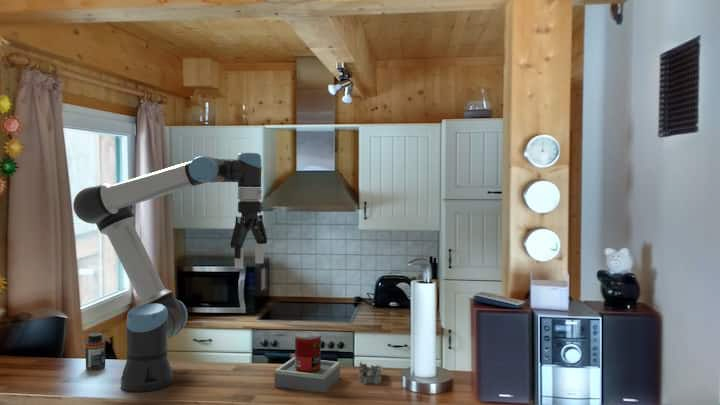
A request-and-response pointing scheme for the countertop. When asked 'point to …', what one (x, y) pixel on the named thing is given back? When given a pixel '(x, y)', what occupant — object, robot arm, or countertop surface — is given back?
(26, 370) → the countertop surface
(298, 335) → the canned food
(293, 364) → the tray
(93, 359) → the supplement bottle
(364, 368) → the egg carton
